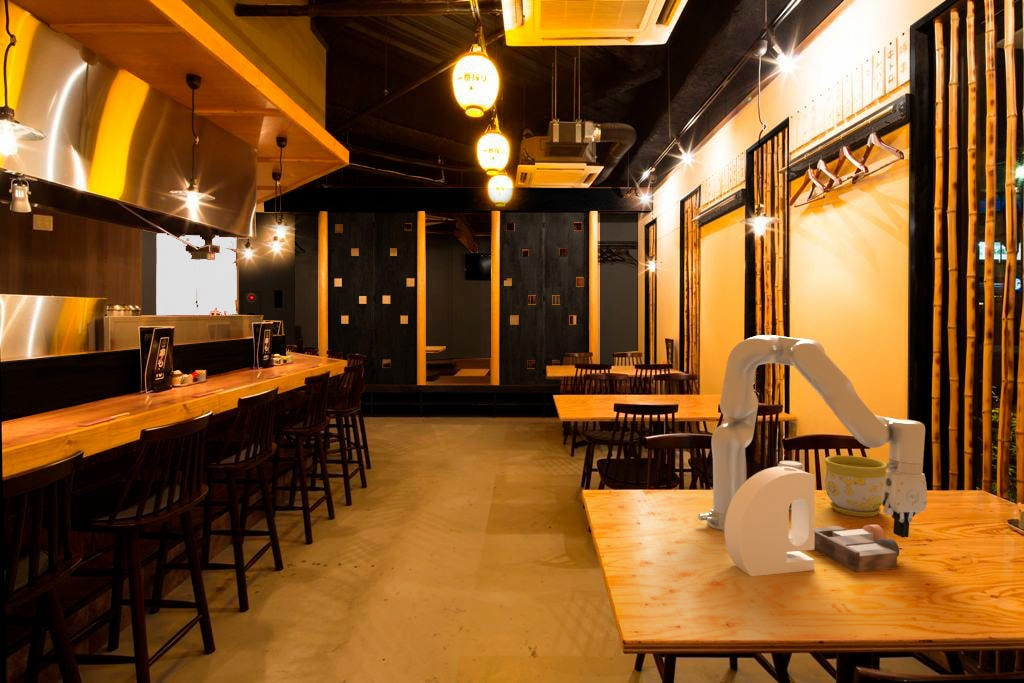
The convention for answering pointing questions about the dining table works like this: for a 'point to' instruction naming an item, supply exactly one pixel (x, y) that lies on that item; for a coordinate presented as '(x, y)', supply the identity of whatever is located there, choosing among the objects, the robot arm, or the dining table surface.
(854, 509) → the flowerpot
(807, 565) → the bracket
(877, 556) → the brown wooden tray
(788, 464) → the supplement can
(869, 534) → the rust knob
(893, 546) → the white and grey bar
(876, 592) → the dining table surface
